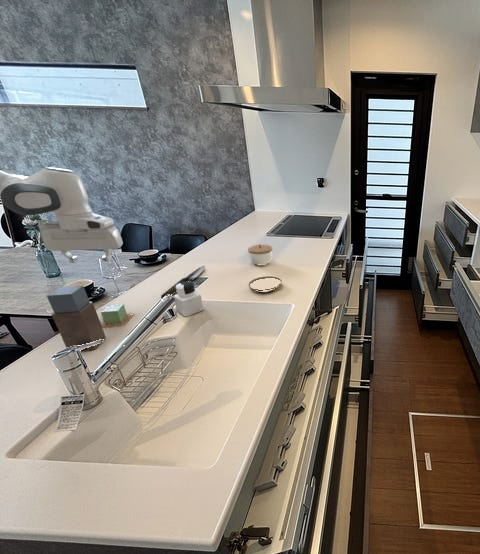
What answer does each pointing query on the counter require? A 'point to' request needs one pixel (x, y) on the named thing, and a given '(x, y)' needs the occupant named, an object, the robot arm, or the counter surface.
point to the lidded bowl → (260, 254)
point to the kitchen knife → (190, 276)
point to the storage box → (80, 327)
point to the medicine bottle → (188, 299)
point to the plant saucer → (264, 278)
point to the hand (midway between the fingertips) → (90, 261)
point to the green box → (114, 314)
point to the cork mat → (117, 323)
